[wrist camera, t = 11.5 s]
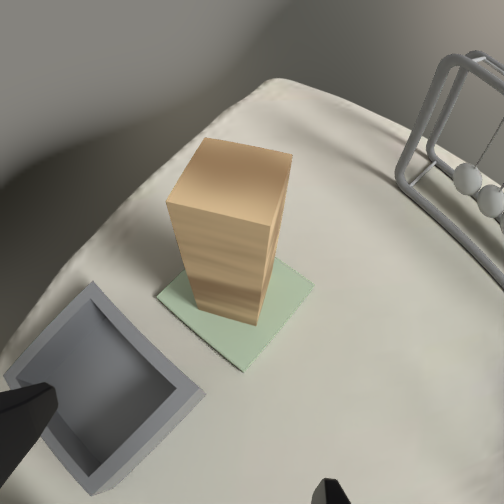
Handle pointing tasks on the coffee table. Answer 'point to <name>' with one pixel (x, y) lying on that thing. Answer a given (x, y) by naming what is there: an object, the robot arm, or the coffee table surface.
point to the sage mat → (234, 332)
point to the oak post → (230, 224)
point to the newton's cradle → (466, 173)
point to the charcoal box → (103, 390)
